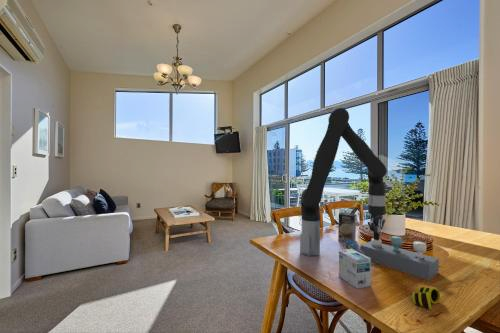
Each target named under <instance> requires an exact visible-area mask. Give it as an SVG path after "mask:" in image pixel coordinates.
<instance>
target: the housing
mask: <svg viewBox="0 0 500 333" xmlns="http://www.w3.org/2000/svg"><path fill="white" fill-rule="evenodd" d="M359 250H361V251H363V252H364V253H365V256H367V257H370V258H371V262H374V263H377V264H380V265H383V266H384V267H388V266H389V267H388V268H391V269H394V270H397V271H401V272H403V273H406V274H408V273H409V274H408V275H412V276H415V277H418V278H420V277H421V279H423V278H424V280H427V281H430V280H432V279H433V278H434V277H435V276H437V275H438V274H439V268H440V267H439V263H440V262H439V260H440V259H439V258H438V257H433V256H430V255H426V254H423V260H421V259H418V258H417V252H416V251H412V250H408V249H403V248H400V247H399V253H396V252H394V245H389V244H384V243H382V247H374V246H372V245H371V240H370V241H368V242H365V243H362V244H360V249H359Z"/></svg>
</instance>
